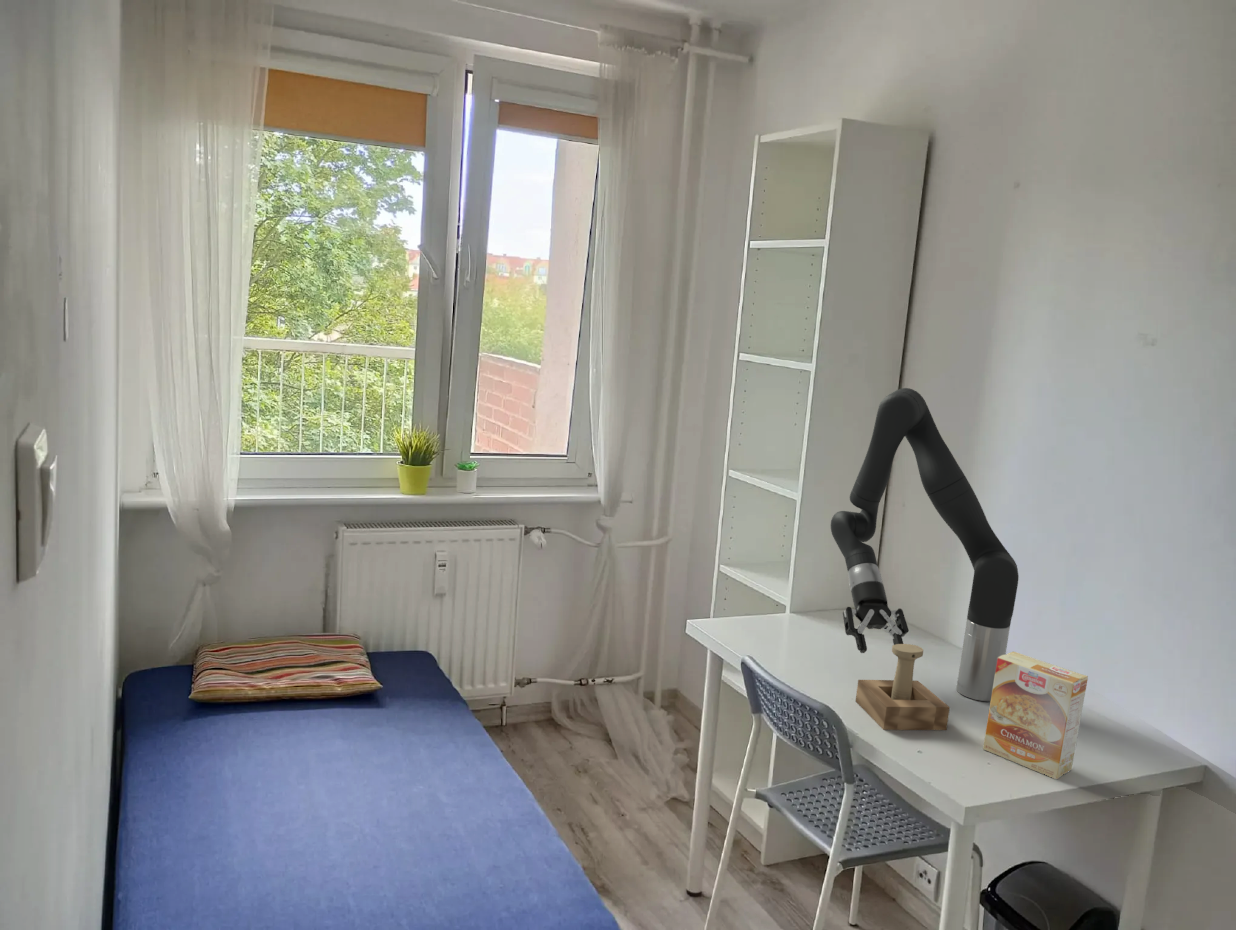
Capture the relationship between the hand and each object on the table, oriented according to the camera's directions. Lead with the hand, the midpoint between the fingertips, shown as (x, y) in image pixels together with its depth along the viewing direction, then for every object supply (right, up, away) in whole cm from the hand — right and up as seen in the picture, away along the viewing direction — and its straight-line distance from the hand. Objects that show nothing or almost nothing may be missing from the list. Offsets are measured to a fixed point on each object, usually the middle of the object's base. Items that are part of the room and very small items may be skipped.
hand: (882, 652), depth 215 cm
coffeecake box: (+21, -16, -26) cm, 37 cm away
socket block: (+1, -12, -10) cm, 15 cm away
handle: (+1, -12, -9) cm, 15 cm away
